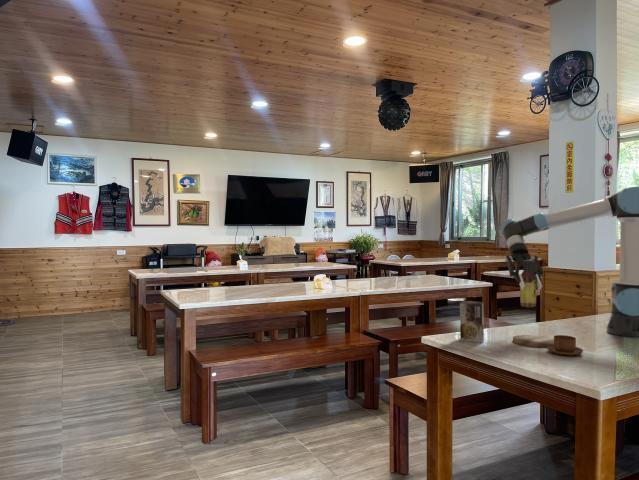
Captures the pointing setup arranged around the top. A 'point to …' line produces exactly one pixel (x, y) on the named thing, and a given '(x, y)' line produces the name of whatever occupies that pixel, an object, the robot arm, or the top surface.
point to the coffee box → (471, 321)
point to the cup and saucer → (564, 346)
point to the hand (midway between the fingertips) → (531, 288)
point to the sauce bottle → (528, 285)
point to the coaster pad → (533, 341)
